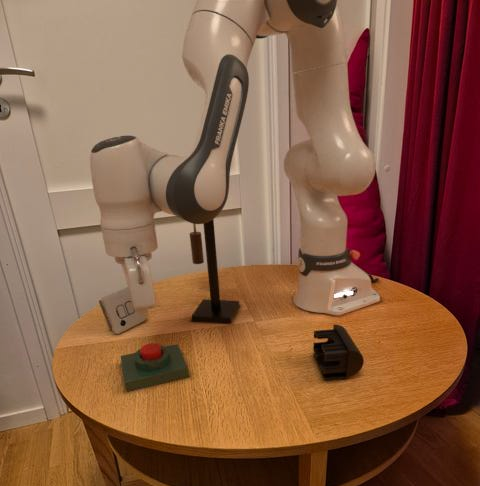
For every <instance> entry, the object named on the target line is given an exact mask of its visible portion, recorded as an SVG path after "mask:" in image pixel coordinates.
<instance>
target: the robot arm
mask: <svg viewBox="0 0 480 486" xmlns="http://www.w3.org/2000/svg"><path fill="white" fill-rule="evenodd" d="M337 3H338V0H197V1H196V3H195V5H194V8H193V11H192V13H191V16H190V19H189V21H188V24H187V28H186V31H185V36H184V39H183V45H182V53H181V58H182V63H183V66H184V68H185V70H186V72H187V74H188V76H189V77H190V79H191V80H192V81H193V82H194V83H195V84H196V85H197V86H198V87H200V88H201V89H202V90H203V91H204V93H205V103H204V106H203V107H204V108H203V111H202V114H201V115H202V116H201V119H200V123H199V127H198V131H197V135H196V138H195V142H194V145H193V148H192V149H191V151H190V152H189V153H187V154H186V155H185V156H183V155H182V156H181V155H177V154H176V155H175V154H169V153H166V152H164V151H160V150H158V149H155V148H153V147H151V146H149V145H147V144H146V143H144V142H143V141H141V140H140V139H139V138H138V137H137V136H135V135H120V136H113V137H110V138H107V139H103V140H102V141H99V142H98V143H96V144H95V145H94V146H93V147H92V149H91V151H90V154H89V155H90V156H89V166H90V176H91V181H92V182H91V183H92V188H93V194H94V199H95V202H96V204H97V206H98V209H99V212H100V221H99V223H100V229H101V235H102V240H103V244H104V250H105V254H106V255H108V256H109V257H113V258H114V262H115V263H117V264H118V265H121V267H122V270H123V273H124V277H125V281H126V284H127V287H128V288H129V292H130V296H131V300H132V304H133V307H134V309H135V310H136V311H138V313H139V315H140V316H144V315H145V316H147V315H149V310H152V309H155V308H156V305H157V301H156V300H157V299H156V295H155V288H154V281H153V276H152V272H151V268H150V267H151V266H150V264H149V262H148V261H150V260H151V259H152V258H153V255H152V253H153V252H155V251H156V250H157V249H158V247H159V246H158V238H157V233H156V232H157V231H156V224H155V215H156V213H160V212H162V213H165V214H168V215H172V216H175V217H178V218H180V219H181V220H184V221H186V222H187V223H190V224H192V225H193V224H196V225H203V224H204V223H207V222H209V221H211V220H214V219H216V218H217V217H218V216H219V215H220V214H221V212H222V211H223V209H224V207H225V206H226V204H227V201H228V197H229V193H230V175H231V167H232V161H233V156H234V153H235V149H236V145H237V141H238V136H239V134H240V129H241V124H242V122H243V121H242V120H243V116H244V112H245V108H246V104H247V99H248V93H249V87H250V86H249V85H250V78H249V77H250V76H249V72H248V64H249V59H250V57H251V54H252V51H253V48H254V46H255V42H256V40H258V39H260V40H261V39H265V38H268V37H271V36H277V35H282V34H284V35H285V36H286V38H287V39H288V42H289V45H290V66H291V67H290V68H291V78H292V79H291V80H292V87H293V99H294V109H295V113H296V117H297V118H298V120H299V121H300V123H302V125H303V126H304V128H305V130H306V132H307V135H308V137H309V139H306V140H303V141H300V142H297V143H294V144H293V145H292V146H290V148H289V149H288V150H287V151H286V153H285V156H284V159H283V160H284V161H283V171H284V173H285V176H286V177H287V179H288V180H289V182H290V184H291V186H292V189H293V191H294V196H295V200H296V205H297V208H298V214H299V226H300V227H299V229H300V233H299V234H300V235H299V237H300V238H299V239H300V240H299V241H300V243H299V246H300V247H299V248H298V255H297V257H298V258H297V269H298V278H297V283H296V289H295V293H294V296H293V298H292V302H293V304H294V305H295V306H296V307H298V308H299V309H302V310H304V311H308V312H312V313H319V314H327V315H331V316H336V317H337V316H342V315H345V314H348V313H352V312H353V311H357V310H359V309H362V308H365V307H368V306H371V305H373V304H377V303H379V302H380V301H381V296H380V294H379V293H378V291H376V290H375V289H374V288H373V287H372V283H376V282H378V281H379V277H376V278H374V277H373V275H372V274H371V273H369V272H368V271H364V270H363V269H361V268H360V267H359V266H357V265H356V264H355V263H354V262H352V259H353V260H354V261H357V260H359V258H360V256H361V253H360V252H359V251H357V250H355V249H352V250H351V249H350V248H348V247H347V237H348V236H347V233H348V216H347V213H345V210H343V207H342V206H341V204H340V202H339V198H338V197H344V196H354V195H358V194H359V195H360V194H361V193H363V192H365V191H366V190H367V189H368V188H369V187H370V185H371V183H372V182H373V180H374V177H375V175H376V169H377V161H376V158H375V157H376V156H375V155H374V152H373V151H372V150H371V149H370V148H369V147H368V146H367V144H365V142H364V141H363V139H362V137H361V135H360V133H359V130H358V128H357V125H356V121H355V119H354V116H353V111H352V108H351V100H350V88H349V71H348V70H349V69H348V52H347V50H348V49H347V42H346V40H347V39H346V34H345V29H344V28H345V27H344V23H343V19H342V13H341V10H340V7H339V6H338V4H337Z"/></svg>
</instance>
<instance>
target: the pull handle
mask: <svg viewBox="0 0 480 486" xmlns="http://www.w3.org/2000/svg"><path fill="white" fill-rule="evenodd" d="M192 225H193V231H192V232H189V241H190V251H191V261H192V264H193V265H202V264H204V263H205V260H204V250H203V249H204V248H203V240H202V232H201V231H197V226H196V225H197V224H193V223H192Z"/></svg>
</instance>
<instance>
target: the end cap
mask: <svg viewBox="0 0 480 486" xmlns="http://www.w3.org/2000/svg"><path fill="white" fill-rule="evenodd" d="M313 339H317V340H324V339H327V340H326V341H318V342H313V346H312V347H313V358H314V360H315V363H316V365H317V367H318V369H319V372H320V374H321V377H322V379H323V381H326V382H327V381H338V380H339V381H340V380H347V379H349V378H351V377H353V376H356V375H357V374H358V373H359V372H360V371H361V370H362V368H363V366H364V356H363V354H362V353H361V351H360V350H359V348H358V346H357V345H356V343H355V342H354V340H353V339H352V337H351V335H350V334H349V332H348V331H347V329H346V328H345V327H344V326H342V325H340V324H333V325H332V329H321V330H313Z"/></svg>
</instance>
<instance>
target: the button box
mask: <svg viewBox="0 0 480 486" xmlns="http://www.w3.org/2000/svg"><path fill="white" fill-rule="evenodd" d="M159 345H160V344H159ZM160 346H161V351H162V356H161V357H159V358H158V359H155V360H143V359H142V357H141V352H140V349H141V348H139V349H137V350H136V352H132V353H128V354H123V355H120V362H121V369H122V376H123V382H124V387H125V392H130V391H135V390H140V389H144V388H148V387H152V386H157V385H161V384H166V383H169V382H173V381H178V380H182V379H187V378H189V376H190V375H189V370H188V366H187V363H186V360H185V359H184V356H183V353H182V351H181V348H180V346H179V344H178V343H175V344H170V345H163V344H162V345H160Z"/></svg>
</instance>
